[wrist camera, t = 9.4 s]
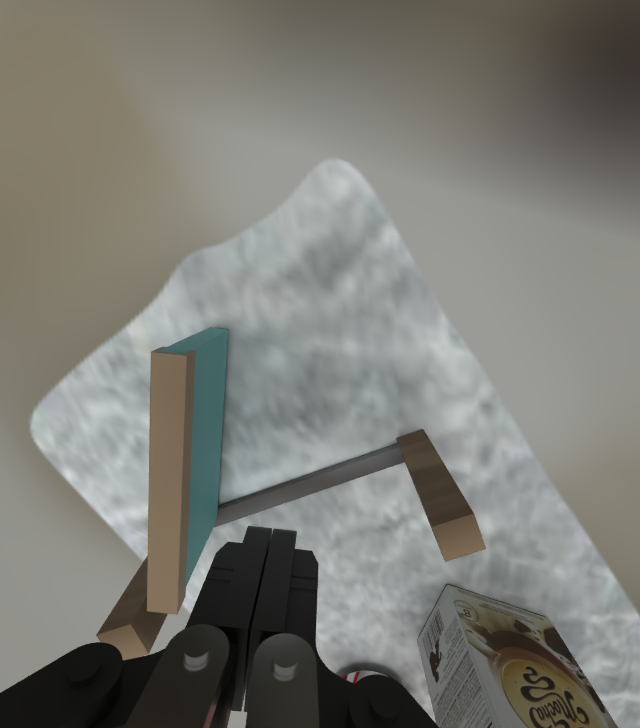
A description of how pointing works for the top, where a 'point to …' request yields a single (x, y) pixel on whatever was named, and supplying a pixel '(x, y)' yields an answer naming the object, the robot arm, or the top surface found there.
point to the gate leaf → (183, 460)
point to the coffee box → (502, 668)
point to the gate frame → (429, 474)
